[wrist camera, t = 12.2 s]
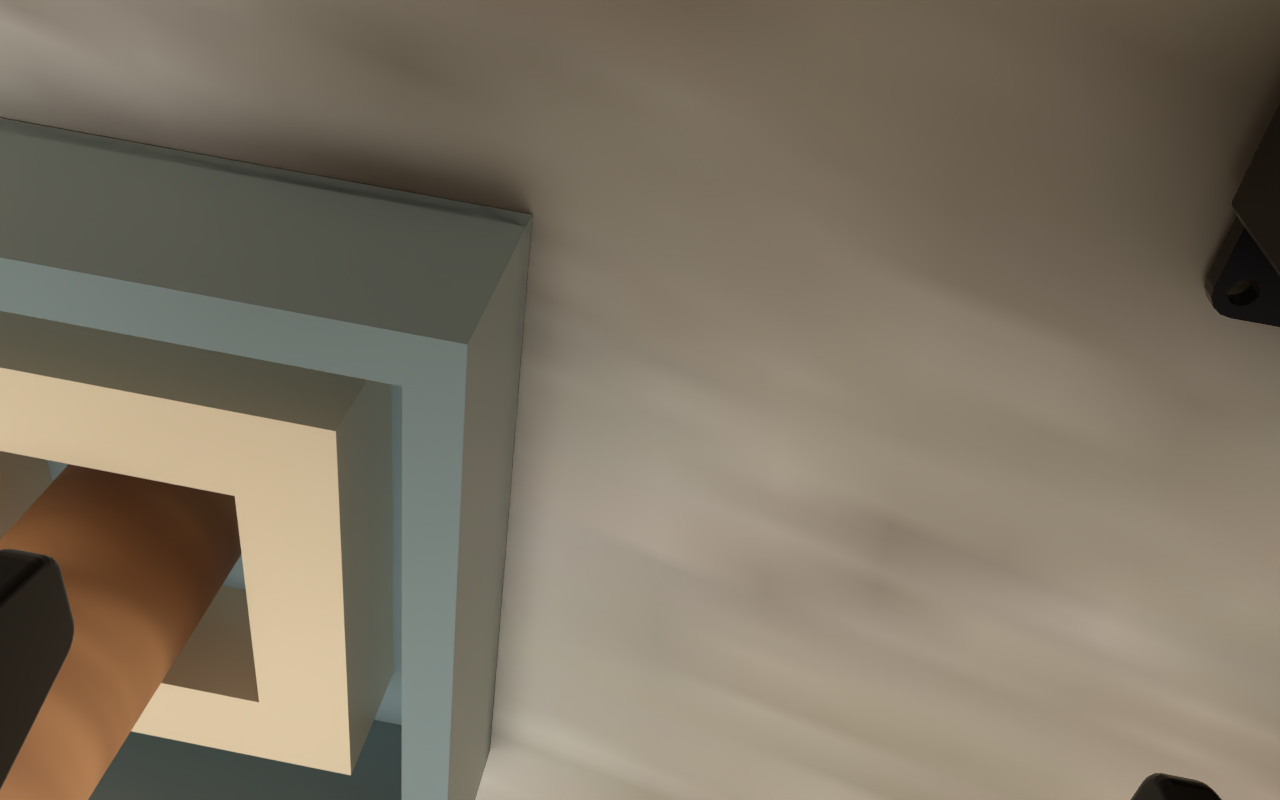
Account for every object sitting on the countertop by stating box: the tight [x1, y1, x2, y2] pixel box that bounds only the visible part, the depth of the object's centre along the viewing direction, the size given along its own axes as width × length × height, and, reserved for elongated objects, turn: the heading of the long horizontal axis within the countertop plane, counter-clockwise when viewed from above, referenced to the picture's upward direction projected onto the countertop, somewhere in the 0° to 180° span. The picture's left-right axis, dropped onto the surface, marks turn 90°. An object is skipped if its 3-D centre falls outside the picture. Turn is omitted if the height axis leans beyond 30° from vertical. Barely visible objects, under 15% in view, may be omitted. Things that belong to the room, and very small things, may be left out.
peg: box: [0, 464, 241, 800], centre depth 21 cm, size 4×4×9 cm
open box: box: [0, 118, 532, 800], centre depth 23 cm, size 15×16×4 cm
